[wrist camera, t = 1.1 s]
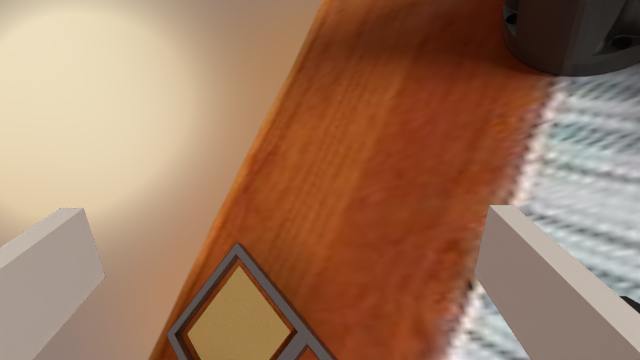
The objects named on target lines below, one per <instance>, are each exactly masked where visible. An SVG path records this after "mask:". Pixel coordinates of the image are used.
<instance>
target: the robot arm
mask: <svg viewBox="0 0 640 360" xmlns="http://www.w3.org/2000/svg"><path fill="white" fill-rule="evenodd" d="M502 34H503V38H504V41H505V43H506V45H507V47H508V49H509V50H510V51H511V53H512V54H513V55H514V56H515V57H516V58H517V59H519V60H520V61H521V62H523V63H525V64H526V65H528V66H530V67H532V68H535V69H537V70H540V71H544V72H547V73H552V74H558V75H568V76H584V75H595V74H602V73H607V72H612V71H616V70H620V69H623V68H626V67H629V66H632V65H634V64H637V63H639V62H640V0H504V3H503V8H502ZM475 276H476V277H477V279H478V280H479V282H480V283H481V285H482V286H483V288H484V289H485V291H486V292H487V294H488V295H489V297H490V298H491V300H492V302H493V303H494V305H495V306H496V308H497V309H498V311H499V312H500V314H501V315H502V317H503V318H504V320H505V321H506V323H507V324H508V326H509V327H510V329H511V330H512V332H513V333H514V335H515V336H516V338H517V339H518V341H519V342H520V344H521V345H522V347H523V348H524V350H525V351H526V353H527V354H528V356H529V357H530V359H531V360H640V304H639V303H637V302H635V301H634V300H632V299H630V298H628V297H627V296H618V295H617V294H616V293H615V292H613V291H612V290H611V289H610V288H609V287H608V286H606V285H605V284H604V283H603V282H602V281H601V280H599V279H598V278H597V277H596V276H595V275H594V274H592V273H591V272H590V271H589V270H588V269H587V268H585V267H584V266H583V265H582V264H581V263H580V262H578V261H577V260H576V259H575V258H574V257H573V256H572V255H570V254H569V253H568V252H567V251H566V250H565V249H563V248H562V247H561V246H560V245H559V244H558V243H556V242H555V241H554V240H553V239H552V238H551V237H549V236H548V235H547V234H546V233H545V232H544V231H542V230H541V229H540V228H539V227H538V226H537V225H535V224H534V223H533V222H532V221H531V220H530V219H528V218H527V217H526V216H525V215H524V214H523V213H521V212H520V211H519V210H518V209H517V208H516V207H515V206H513V205H489V210H488V215H487V219H486V224H485V228H484V233H483V237H482V242H481V246H480V251H479V256H478V260H477V265H476V269H475ZM104 278H105V274H104V270H103V268H102V264H101V261H100V258H99V255H98V252H97V249H96V245H95V242H94V239H93V236H92V233H91V230H90V227H89V223H88V221H87V218H86V214H85V211H84V209H83V208H60V209H58V210H57V211H55V212H54V213H52V214H51V215H49V216H48V217H46V218H45V219H43V220H42V221H40V222H38V223H37V224H36V225H34V226H32V227H31V228H29V229H28V230H26V231H25V232H23V233H22V234H20V235H19V236H17V237H16V238H14V239H13V240H11V241H10V242H8V243H7V244H5V245H4V246H2V247H1V248H0V360H32V359H33V358H34V357H35V356H36V355H37V354H38V353H39V352H40V350H41V349H42V348H43V347H44V346H45V345H46V344H47V343H48V341H49V340H50V339H51V338H52V337H53V336H54V335H55V333H56V332H57V331H58V330H59V329H60V328H61V327H62V326H63V324H64V323H65V322H66V321H67V320H68V319H69V318H70V317H71V315H72V314H73V313H74V312H75V311H76V310H77V309H78V307H79V306H80V305H81V304H82V303H83V302H84V301H85V299H87V297H88V296H89V295H90V294H91V293H92V292H93V291H94V289H95V288H96V287H97V286H98V285H99V284H100V283H101V282H102V280H103V279H104Z"/></svg>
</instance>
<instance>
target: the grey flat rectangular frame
mask: <svg viewBox="0 0 640 360" xmlns="http://www.w3.org/2000/svg"><path fill="white" fill-rule="evenodd" d="M238 258H240V259H241V260H242V262H243V263H244V264H245V266H246V267H247V268H248V269H249V271H250V272H251V273H252V274H253V276H254V277H255V278H256V279H257V281H258V282H259V283H260V285H261V286H262V287H263V288H264V290H265V291H266V292H267V293H268V295H269V296H270V297H271V298H272V300H273V301H274V302H275V304H276V305H277V306H278V307H279V309H280V310H281V311H282V312H283V314H284V315H285V316H286V317H287V319H288V320H289V321H290V323H291V324H292V325H293V326H294V328H295V329H296V330H297V331H298V332H297V334H296V335H295V336H294V338H293V339H292V340H291V342H290V343H289V344H288V345H287V347H286V348H285V349H284V351H283V352H282V353H281V355H280V356H279V357H278V358H277V360H299V358H300V357H301V356H302V355H303V353H304V352H305V351H306V349H307V348H308V347H310V348H311V349H312V350H313V352H314V353H315V354H316V355H317V357H318V358H319V359H320V360H338V359H337V358H336V357H335V356H334V355H333V353H332V352H331V351H330V350H329V348H328V347H327V346H326V345H325V344H324V342H323V341H322V340H321V339H320V338H319V336H318V335H317V334H316V333H315V332H314V330H313V329H312V328H311V327H310V326H309V324H308V323H307V322H306V321H305V319H304V318H303V317H302V316H301V315H300V313H299V312H298V311H297V310H296V309H295V307H294V306H293V305H292V304H291V303H290V301H289V300H288V299H287V298H286V297H285V295H284V294H283V293H282V292H281V290H280V289H279V288H278V287H277V286H276V284H275V283H274V282H273V281H272V280H271V278H270V277H269V276H268V275H267V274H266V272H265V271H264V270H263V269H262V268H261V266H260V265H259V264H258V263H257V262H256V260H255V259H254V258H253V257H252V255H251V254H250V253H249V252H248V251H247V249H246V248H245V247H244V246H243V245H242V244H240V243H236V244H235V246H234V247H233V248H232V249H231V251H230V252H229V253H228V255H227V256H226V257H225V259H224V260H223V261H222V263H221V264H220V265H219V266H218V268H217V269H216V270H215V272H214V273H213V274H212V276H211V277H210V278H209V280H208V281H207V282H206V283H205V285H204V286H203V287H202V289H201V290H200V291H199V293H198V294H197V295H196V297H195V298H194V299H193V300H192V302H191V303H190V304H189V306H188V307H187V308H186V310H185V311H184V312H183V314H182V315H181V316H180V318H179V319H178V320H177V321H176V323H175V324H174V325H173V327H172V328H171V329H170V331H169V332H168V333H167V336H168V338H169V341H170V343H171V345H172V347H173V349H174V351H175V353H176V355H177V357H178V359H179V360H194V359H193V357H192V355H191V353H190V351H189V349H188V347H187V345H186V344H185V342H184V340H183V338H182V336H181V333H182V332H183V330H184V329H185V328H186V326H187V325H188V324H189V322H190V321H191V320H192V318H193V317H194V316H195V315H196V313H197V312H198V311H199V309H200V308H201V307H202V305H203V304H204V303H205V301H206V300H207V299H208V298H209V296H210V295H211V294H212V292H213V291H214V290H215V288H216V287H217V286H218V284H219V283H220V282H221V281H222V279H223V278H224V277H225V275H226V274H227V273H228V271H229V270H230V269H231V267H232V266H233V265H234V264H235V262H236V261H237V260H238ZM290 333H291V331H290V329H289V328H288V327H287V325H286V324H285V323H284V322H283V320H282V319H281V318H280V316H279V315H278V314H277V313H276V311H275V310H274V309H273V307H272V306H271V305H270V303H269V302H268V301H267V300H266V298H265V297H264V296H263V294H262V293H261V292H260V291H259V289H258V288H257V287H256V285H255V284H254V283H253V282H252V280H251V279H250V278H249V276H248V275H247V274H246V273H245V271H244V270H243V269H242V267H241V266H239V267H238V268H237V269H236V271H235V272H234V273H233V275H232V276H231V277H230V279H229V280H228V281H227V283H226V284H225V285H224V286H223V288H222V289H221V290H220V292H219V293H218V294H217V296H216V297H215V298H214V300H213V301H212V302H211V303H210V305H209V306H208V307H207V309H206V310H205V311H204V313H203V314H202V315H201V317H200V318H199V319H198V320H197V322H196V323H195V324H194V326H193V327H192V328H191V330H190V331H189V332H188V334H187V335H188V336H189V338H190V340H191V342H192V344H193V346H194V348H195V350H196V351H197V353H198V355H199V357H200V359H201V360H270V359H271V358H272V357H273V355H274V354H275V353H276V351H277V350H278V349H279V348H280V346H281V345H282V344H283V342H284V341H285V340H286V338H287V337H288V336H289V335H290Z"/></svg>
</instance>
